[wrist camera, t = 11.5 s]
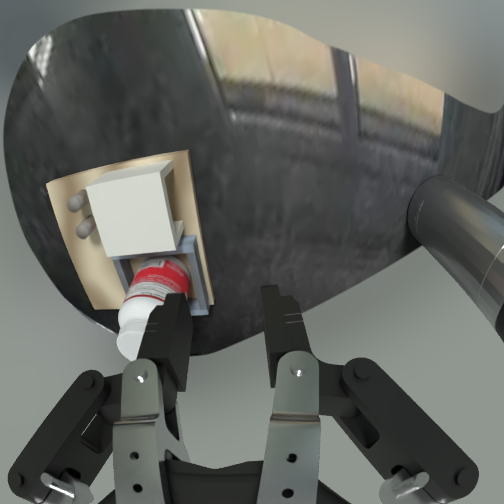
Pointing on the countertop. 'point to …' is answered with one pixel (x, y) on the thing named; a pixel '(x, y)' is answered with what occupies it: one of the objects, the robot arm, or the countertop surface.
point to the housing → (134, 210)
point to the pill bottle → (148, 298)
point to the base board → (126, 266)
